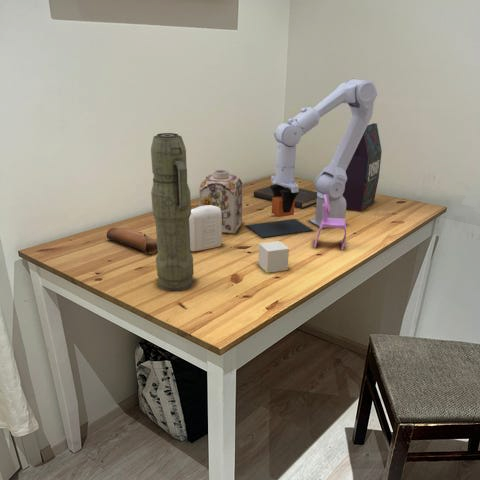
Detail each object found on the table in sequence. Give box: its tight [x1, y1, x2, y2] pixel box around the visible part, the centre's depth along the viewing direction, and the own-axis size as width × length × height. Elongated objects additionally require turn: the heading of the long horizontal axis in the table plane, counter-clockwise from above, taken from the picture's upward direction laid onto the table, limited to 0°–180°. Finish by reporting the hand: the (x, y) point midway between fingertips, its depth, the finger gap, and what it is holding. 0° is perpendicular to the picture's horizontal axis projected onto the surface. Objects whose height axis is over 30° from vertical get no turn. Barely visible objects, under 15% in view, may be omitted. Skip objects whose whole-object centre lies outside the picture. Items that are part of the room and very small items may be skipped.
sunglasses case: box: [106, 227, 158, 255], centre depth 143 cm, size 18×7×7 cm, turn 51°
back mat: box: [246, 218, 313, 239], centre depth 157 cm, size 18×12×1 cm, turn 113°
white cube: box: [257, 240, 290, 274], centre depth 129 cm, size 6×6×6 cm
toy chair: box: [314, 194, 347, 251], centre depth 141 cm, size 8×9×15 cm
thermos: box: [150, 132, 195, 292], centre depth 112 cm, size 9×12×35 cm
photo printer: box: [189, 205, 223, 252], centre depth 139 cm, size 10×4×12 cm, turn 123°
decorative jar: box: [198, 169, 243, 235], centre depth 153 cm, size 12×12×18 cm
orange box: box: [271, 197, 295, 218], centre depth 154 cm, size 6×5×5 cm
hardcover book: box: [253, 185, 317, 209], centre depth 188 cm, size 16×23×2 cm
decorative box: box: [342, 122, 383, 212], centre depth 175 cm, size 8×16×28 cm, turn 148°
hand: (282, 209), depth 155 cm, fingers closed on orange box, 4 cm apart
